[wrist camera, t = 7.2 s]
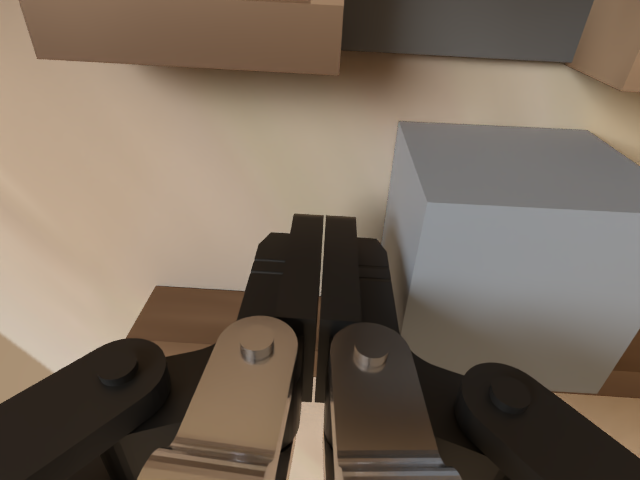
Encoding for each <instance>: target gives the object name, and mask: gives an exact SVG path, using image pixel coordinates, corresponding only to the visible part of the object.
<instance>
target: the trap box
mask: <svg viewBox="0 0 640 480" xmlns="http://www.w3.org/2000/svg"><path fill="white" fill-rule="evenodd" d="M19 2H20V6H21V9H22V12H23V15H24V18H25V22H26V25H27V28H28V31H29V34H30V37H31V41H32V44H33V47H34V50H35V53H36V57H37V59H49V60H67V61H85V62H103V63H121V64H139V65H157V66H175V67H193V68H211V69H229V70H247V71H265V72H283V73H301V74H320V75H338V76H339V71H340V55H341V50H348V51H366V52H384V53H403V54H421V55H439V56H458V57H476V58H495V59H513V60H531V61H550V62H565V65H567V66H569V67H571V68H573V69H575V70H577V71H579V72H582V73H584V74H586V75H588V76H590V77H592V78H594V79H596V80H599V81H601V82H603V83H605V84H607V85H609V86H611V87H613V88H616V89H618V90H620V91H626V92H640V0H19ZM244 293H245V292H242V291H226V290H211V289H195V288H179V287H163V286H156V287H155V288H154V290H153V292H152V294H151V295H150V297H149V299H148V301H147V302H146V304H145V306H144V308H143V309H142V311H141V313H140V315H139V316H138V318H137V320H136V321H135V323H134V325H133V327H132V328H131V330H130V332H129V334H128V335H127V337H126V339H127V338H140V339H146V340H149V341H151V342H154V343H155V344H157V345H158V346H159V347H160V348H161V349H162V350H163V352H164V355H165V357H167V356H172V355H177V354H182V353H187V352H192V351H196V350H200V349H203V348H206V347H209V346H211V345H213V344H215V343H216V342H217V340H218V338H219V336H220V334H221V333H222V332H223V331H224V330H225V329H226V328H227V327H228V326H229V325H231V324H232V323H234V322H236V320H237V317H238V314H239V310H240V307H241V303H242V300H243V297H244ZM320 308H321V296H319V301H318V316H317V331H316V345H315V360H314V374H313V377H316V373H317V357H318V341H319V324H320ZM551 392H553V393H569V394H584V395H599V396H614V397H630V398H640V329H639V330H638V332H637V334H636V335H635V337H634V338H633V340H632V341H631V343H630V344H629V346H628V347H627V349H626V350H625V352H624V353H623V355H622V356H621V358H620V360H619V361H618V363H617V364H616V366H615V367H614V369H613V370H612V372H611V373H610V375H609V376H608V378H607V379H606V381H605V383H604V384H603V386H602V387H601V389H600V390H599V392H598V393H597V394H592V393H575V392H558V391H551Z"/></svg>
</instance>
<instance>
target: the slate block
mask: <svg viewBox="0 0 640 480" xmlns="http://www.w3.org/2000/svg"><path fill="white" fill-rule="evenodd" d="M381 245H382V246H383V248H384V249H385V250H386V251H387V256H388V262H389V270H390V275H391V282H392V288H393V294H394V301H395V307H396V313H397V320H398V326H399V331H400V335H401V336H402V337H403V339H404V340H405V341H406V342H407V344H408V346H409V347H410V350H411V351H412V352H413V353H414V354H416V355H417V356H418V357H420V358H421V359H423V360H424V361H426V362H428V363H430V364H433V365H435V366H438V367H441V368H444V369H446V370H449V371H452V372H455V373H458V374H461V375H465V374H466V372H467V371H468V370H469V369H470V368H472V367H473V366H475V365H478V364H481V363H488V362H494V363H502V364H506V365H509V366H512V367H515V368H517V369H519V370H521V371H523V372H525V373H527V374H528V375H530V376H531V377H532V378H534V379H535V380H536V381H538V382H539V383H540V384H542V385H543V386H544V387H546V388H547V389H548V390H550V391H558V392H575V393H592V394H597V393H598V392H599V390H600V389H601V387H602V386H603V384H604V383H605V381H606V379H607V378H608V376H609V375H610V373H611V372H612V370H613V369H614V367H615V366H616V364H617V363H618V361H619V360H620V358H621V356H622V355H623V353H624V352H625V350H626V349H627V347H628V346H629V344H630V343H631V341H632V340H633V338H634V337H635V335H636V334H637V332H638V330H639V329H640V166H638V165H637V164H635V163H634V162H633V161H631V160H630V159H628V158H627V157H625V156H624V155H622V154H621V153H620V152H618V151H617V150H615V149H614V148H612V147H611V146H609V145H608V144H607V143H605V142H604V141H602V140H601V139H599V138H598V137H596V136H595V135H594V134H592V133H591V132H589V131H588V130H572V129H551V128H530V127H509V126H488V125H467V124H446V123H425V122H404V121H399V123H398V130H397V137H396V144H395V151H394V158H393V166H392V173H391V180H390V187H389V194H388V201H387V208H386V215H385V222H384V229H383V236H382V243H381Z"/></svg>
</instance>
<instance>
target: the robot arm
mask: <svg viewBox="0 0 640 480" xmlns="http://www.w3.org/2000/svg"><path fill="white" fill-rule="evenodd" d="M323 218H324V215H309V214H294V216H293V221H292V227H291V232H290V234H288V233H272V232H271V233H270V234H269V235H268V236H267V237H266V238H265V239H264V240H263V241H262V242H261V243H260V244H259V245H258V249H257V252H256V256H255V261H254V263H253V266H252V269H251V274H250V276H249V280H248V283H247V286H246V290H245V293H244V297H243V300H242V303H241V307H240V310H239V314H238V317H237V320H236V322H234V323H232V324H231V325H229V326H228V327H227V328H226V329H225V330H224V331H223V332H222V333H221V334H220V336H219V338H218V340H217V342H216V343H215V344H213V345H211V346H209V347H206V348H203V349H200V350H196V351H192V352H187V353H182V354H177V355H172V356H167V357H165V355H164V352H163V350H162V349H161V348H160V347H159V346H158V345H157V344H155V343H154V342H151V341H149V340H146V339H140V338H127V339H121V340H117V341H113V342H110V343H108V344H105V345H103V346H101V347H99V348H97V349H96V350H94V351H92V352H90V353H89V354H87V355H85V356H83V357H82V358H80V359H78V360H76V361H75V362H73V363H71V364H69V365H68V366H66V367H64V368H62V369H61V370H59V371H57V372H55V373H54V374H52V375H50V376H48V377H47V378H45V379H43V380H42V381H40V382H38V383H36V384H35V385H33V386H31V387H29V388H27V389H26V390H24V391H22V392H20V393H19V394H17V395H15V396H13V397H12V398H10V399H8V400H6V401H4V402H3V403H1V404H0V480H289V475H290V469H291V464H292V458H293V452H294V446H295V440H296V434H297V431H298V428H299V423H300V412H301V402H312V389H313V374H314V360H315V345H316V331H317V316H318V301H319V287H320V271H321V253H322V236H323ZM315 402H320V403H325V407H324V428H323V442H322V444H323V471H324V480H640V458H638V457H637V456H636V455H634V454H633V453H632V452H631V451H629V450H628V449H627V448H625V447H624V446H623V445H621V444H620V443H619V442H617V441H616V440H615V439H613V438H612V437H611V436H609V435H608V434H607V433H605V432H604V431H603V430H601V429H600V428H599V427H597V426H596V425H595V424H593V423H592V422H591V421H589V420H588V419H587V418H585V417H584V416H583V415H582V414H580V413H579V412H578V411H576V410H575V409H574V408H572V407H571V406H570V405H568V404H567V403H566V402H564V401H563V400H562V399H560V398H559V397H558V396H556V395H555V394H554V393H552V392H551V391H550V390H548V389H547V388H546V387H544V386H543V385H542V384H540V383H539V382H538V381H536V380H535V379H534V378H532V377H531V376H530V375H528V374H527V373H525V372H523V371H521V370H519V369H517V368H515V367H512V366H509V365H506V364H502V363H494V362H488V363H481V364H478V365H475V366H473V367H472V368H470V369H469V370H468V371H467V372H466V374H465V375H461V374H458V373H455V372H452V371H449V370H446V369H444V368H441V367H438V366H435V365H433V364H430V363H428V362H426V361H424V360H423V359H421V358H420V357H418V356H417V355H416V354H414V353H413V352H412V351H411V350H410V347H409V346H408V344H407V342H406V341H405V340H404V339H403V337H402V336H401V335H400V331H399V326H398V320H397V313H396V307H395V301H394V294H393V288H392V282H391V275H390V270H389V262H388V256H387V251H386V250H385V249H384V248H383V246H382V245H381V244H380V243H379V242H378V240H377V239H372V238H357V230H356V217H344V216H327V215H326V226H325V242H324V259H323V275H322V291H321V308H320V324H319V341H318V357H317V373H316V390H315Z"/></svg>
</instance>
